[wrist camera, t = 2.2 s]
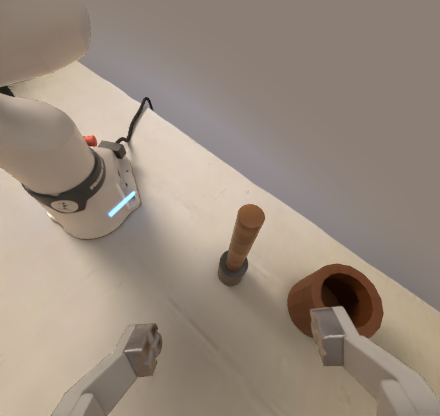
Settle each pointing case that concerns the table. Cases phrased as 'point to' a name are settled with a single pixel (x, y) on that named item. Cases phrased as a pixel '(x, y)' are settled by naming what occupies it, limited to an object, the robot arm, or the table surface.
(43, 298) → the table surface
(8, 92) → the potion bottle
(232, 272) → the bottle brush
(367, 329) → the cylindrical container
